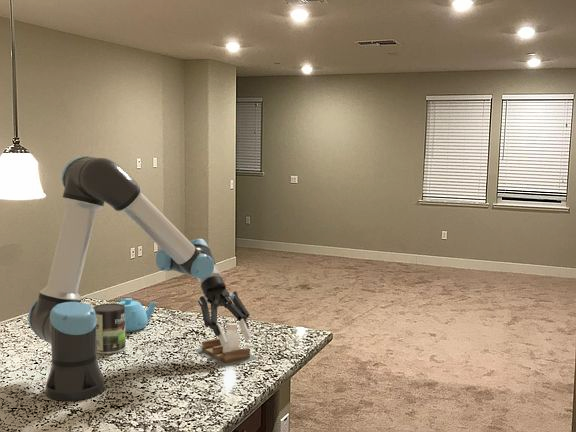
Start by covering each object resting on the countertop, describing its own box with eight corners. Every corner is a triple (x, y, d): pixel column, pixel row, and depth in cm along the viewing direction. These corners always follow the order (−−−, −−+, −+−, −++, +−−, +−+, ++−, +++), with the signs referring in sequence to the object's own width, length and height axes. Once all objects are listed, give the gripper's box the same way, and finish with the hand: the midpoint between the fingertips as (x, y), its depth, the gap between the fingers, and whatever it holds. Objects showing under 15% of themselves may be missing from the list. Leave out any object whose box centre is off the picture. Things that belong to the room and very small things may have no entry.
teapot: (123, 319, 239) (122, 291, 238) (157, 323, 234) (157, 295, 233) (98, 330, 225) (97, 301, 223) (134, 335, 220) (134, 305, 218)
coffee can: (131, 345, 209) (130, 304, 207) (116, 355, 199) (116, 312, 197) (102, 342, 211) (101, 302, 209) (87, 352, 201) (86, 310, 199)
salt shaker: (230, 350, 201) (232, 321, 200) (239, 353, 198) (241, 324, 197) (221, 353, 198) (223, 323, 197) (230, 355, 195) (232, 325, 194)
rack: (202, 350, 204) (202, 341, 203) (225, 345, 209) (225, 336, 209) (225, 363, 192) (225, 354, 192) (249, 357, 197) (249, 348, 197)
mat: (259, 359, 197) (259, 358, 197) (223, 368, 189) (223, 367, 189) (227, 343, 212) (227, 342, 212) (193, 350, 204) (193, 349, 204)
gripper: (233, 283, 214) (259, 341, 203) (178, 291, 201) (203, 353, 191) (242, 270, 209) (269, 329, 198) (186, 278, 197) (211, 341, 186)
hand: (236, 341), depth 194 cm, fingers open, 8 cm apart
